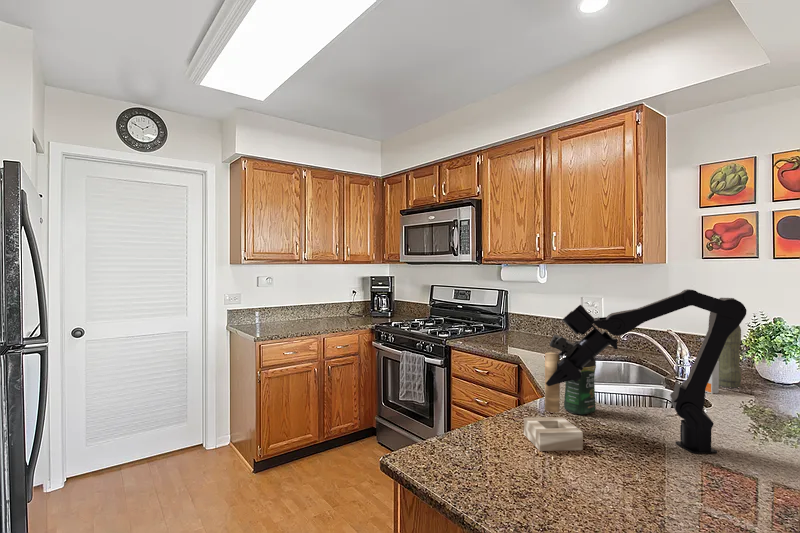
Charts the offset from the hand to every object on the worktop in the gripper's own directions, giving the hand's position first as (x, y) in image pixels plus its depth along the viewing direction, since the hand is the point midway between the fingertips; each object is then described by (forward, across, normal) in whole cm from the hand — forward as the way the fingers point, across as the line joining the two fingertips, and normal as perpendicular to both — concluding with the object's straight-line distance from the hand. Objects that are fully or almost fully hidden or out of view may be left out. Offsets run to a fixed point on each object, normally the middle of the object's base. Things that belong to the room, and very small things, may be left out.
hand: (547, 382), depth 123 cm
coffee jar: (+2, -19, +16) cm, 25 cm away
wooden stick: (+4, 0, +6) cm, 8 cm away
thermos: (-37, -76, +56) cm, 101 cm away
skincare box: (-30, -63, +48) cm, 85 cm away
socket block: (+8, +11, +10) cm, 17 cm away
